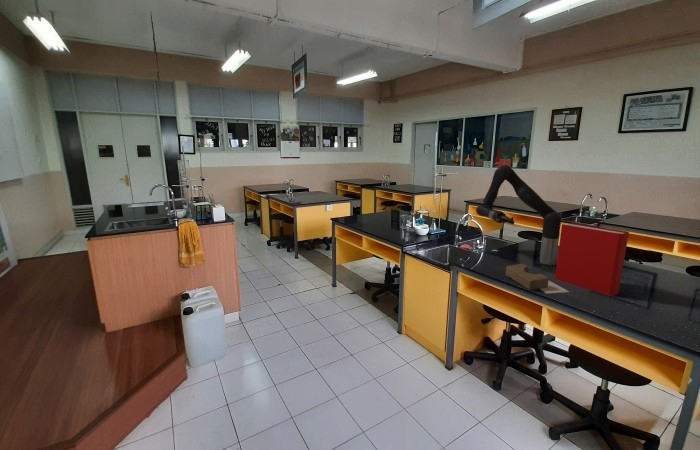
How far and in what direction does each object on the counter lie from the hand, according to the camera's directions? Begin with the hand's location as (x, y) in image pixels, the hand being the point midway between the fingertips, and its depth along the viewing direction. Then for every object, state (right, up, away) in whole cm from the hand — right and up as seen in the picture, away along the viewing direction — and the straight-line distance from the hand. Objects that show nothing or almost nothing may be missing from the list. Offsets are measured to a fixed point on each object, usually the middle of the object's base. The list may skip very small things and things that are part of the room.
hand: (513, 222), depth 201 cm
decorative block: (-7, -27, -15) cm, 31 cm away
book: (+24, -34, -29) cm, 51 cm away
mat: (+3, -34, -27) cm, 43 cm away
